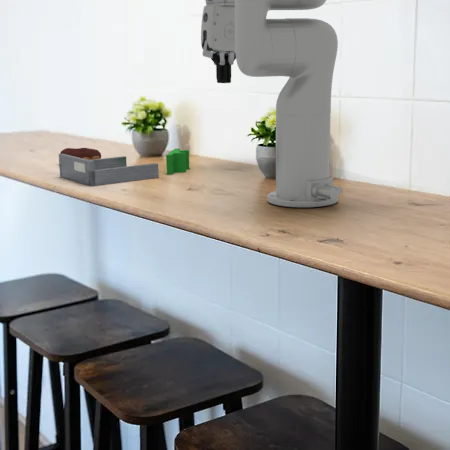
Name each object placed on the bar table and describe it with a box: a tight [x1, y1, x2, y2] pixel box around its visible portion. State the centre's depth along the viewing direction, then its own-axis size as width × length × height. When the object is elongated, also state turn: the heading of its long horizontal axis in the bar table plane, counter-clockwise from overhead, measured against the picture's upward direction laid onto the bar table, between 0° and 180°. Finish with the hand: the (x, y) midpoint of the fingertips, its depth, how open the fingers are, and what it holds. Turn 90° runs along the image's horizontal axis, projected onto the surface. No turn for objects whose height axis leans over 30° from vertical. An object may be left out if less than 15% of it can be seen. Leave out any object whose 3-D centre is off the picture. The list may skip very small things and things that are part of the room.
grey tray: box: [58, 153, 159, 187], centre depth 167 cm, size 15×16×5 cm
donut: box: [59, 147, 102, 160], centre depth 187 cm, size 10×10×4 cm
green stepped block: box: [165, 148, 190, 176], centre depth 175 cm, size 11×4×5 cm, turn 173°
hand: (223, 82), depth 178 cm, fingers closed
